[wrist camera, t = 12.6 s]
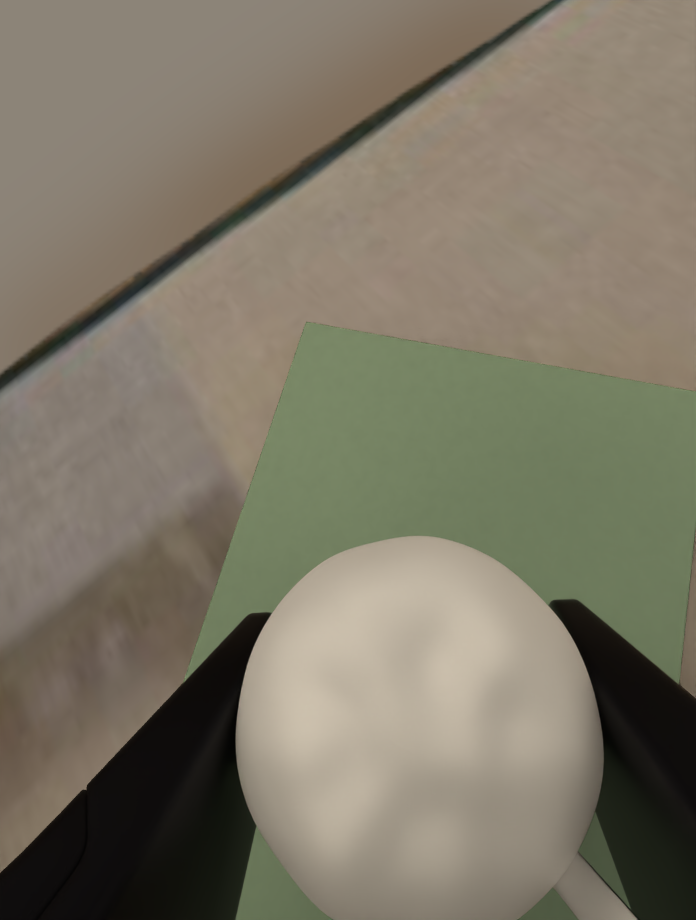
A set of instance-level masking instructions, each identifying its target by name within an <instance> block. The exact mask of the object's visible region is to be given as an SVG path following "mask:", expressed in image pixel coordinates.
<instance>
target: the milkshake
mask: <svg viewBox="0 0 696 920" xmlns="http://www.w3.org/2000/svg"><path fill="white" fill-rule="evenodd" d="M235 744H236V760H237V768H238V773H239V778H240V783H241V787H242V791H243V794H244V797H245V800H246V803H247V806H248V808H249V811H250V813H251V815H252V818H253V820H254V822H255V824H256V826H257V827H258V829H259V831H260V833H261V834H262V836H263V838H264V839H265V841H266V842H267V844H268V846H269V847H270V848H271V850H272V851H273V853H274V854H275V856H276V857H277V858H278V860H279V861H280V863H281V864H282V865H283V867H284V868H285V869H286V871H287V872H288V873H289V875H290V876H291V878H292V879H293V880H294V881H295V883H296V884H297V885H298V887H299V888H300V889H301V890H302V891H303V893H304V894H305V895H306V896H307V897H308V898H309V899H310V900H311V901H312V902H313V904H314V905H316V906H317V907H318V908H319V909H320V910H321V911H322V912H323V913H325V914H326V915H327V916H329V917H330V918H332V919H333V920H517V919H519V918H520V917H521V916H523V915H524V914H525V913H526V912H528V911H529V910H530V909H531V908H532V907H533V906H535V905H536V904H537V903H538V902H539V901H540V900H541V899H542V898H543V897H544V896H545V895H546V894H547V893H548V892H549V891H550V890H551V888H552V887H553V888H554V889H555V891H556V892H557V893H558V895H559V896H560V897H561V899H562V900H563V901H564V903H565V904H566V905H567V907H568V908H569V909H570V911H571V912H572V913H573V914H574V916H575V917H576V918H577V920H640V919H639V918H638V917H637V916H636V915H635V914H634V913H633V912H632V911H631V909H630V908H629V907H628V906H627V905H626V904H625V903H624V902H623V901H622V899H621V898H620V897H619V896H618V895H617V894H616V893H615V892H614V891H613V889H612V888H611V887H610V886H609V885H608V884H607V883H606V882H605V881H604V879H603V878H602V877H601V876H600V875H599V874H598V873H597V872H596V871H595V870H594V868H593V867H592V866H591V865H590V864H589V863H588V862H587V861H586V860H585V858H584V857H583V856H582V855H581V854H580V853H579V852H578V850H579V848H580V846H581V844H582V842H583V839H584V837H585V835H586V833H587V830H588V828H589V826H590V823H591V821H592V818H593V815H594V812H595V809H596V806H597V802H598V798H599V794H600V790H601V784H602V777H603V765H604V748H603V736H602V728H601V721H600V716H599V711H598V706H597V702H596V698H595V694H594V690H593V687H592V684H591V680H590V678H589V675H588V672H587V669H586V667H585V664H584V662H583V659H582V657H581V655H580V653H579V650H578V648H577V646H576V644H575V642H574V641H573V639H572V637H571V635H570V634H569V632H568V630H567V629H566V627H565V626H564V624H563V623H562V622H561V620H560V619H559V618H558V617H557V615H556V614H555V613H554V612H553V611H552V609H551V608H550V607H549V606H548V605H547V604H546V603H545V602H544V601H543V600H542V599H541V598H540V597H539V596H538V595H537V594H536V593H535V592H534V591H533V590H532V589H531V588H530V587H529V586H528V585H527V584H526V583H525V582H524V581H523V580H521V579H520V578H519V577H518V576H517V575H516V574H514V573H513V572H512V571H511V570H509V569H508V568H507V567H505V566H504V565H503V564H501V563H500V562H498V561H497V560H495V559H493V558H492V557H490V556H488V555H486V554H484V553H482V552H480V551H478V550H476V549H473V548H471V547H469V546H466V545H463V544H460V543H457V542H454V541H451V540H447V539H443V538H438V537H431V536H406V537H398V538H392V539H387V540H382V541H378V542H373V543H369V544H365V545H361V546H358V547H354V548H351V549H348V550H345V551H343V552H340V553H338V554H336V555H334V556H332V557H330V558H328V559H327V560H325V561H323V562H322V563H320V564H319V565H318V566H316V567H315V568H314V569H312V570H311V571H310V572H309V573H308V574H306V575H305V576H304V577H303V578H302V579H301V580H300V581H299V582H298V583H297V584H296V585H295V586H294V587H293V588H292V589H291V590H290V591H289V592H288V593H287V594H286V596H285V597H284V598H283V599H282V600H281V602H280V603H279V604H278V606H277V607H276V608H275V610H274V611H273V613H272V614H271V616H270V617H269V619H268V620H267V622H266V624H265V625H264V627H263V629H262V631H261V633H260V634H259V636H258V639H257V641H256V643H255V645H254V648H253V650H252V653H251V655H250V658H249V661H248V665H247V668H246V672H245V675H244V680H243V684H242V689H241V694H240V700H239V706H238V713H237V721H236V742H235Z"/></svg>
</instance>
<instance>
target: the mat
mask: <svg viewBox="0 0 696 920" xmlns="http://www.w3.org/2000/svg"><path fill="white" fill-rule="evenodd" d="M695 530H696V391H690V390H685V389H679V388H674V387H668V386H662V385H657V384H651V383H646V382H640V381H634V380H629V379H623V378H618V377H612V376H606V375H601V374H595V373H590V372H584V371H579V370H573V369H567V368H562V367H556V366H551V365H545V364H539V363H534V362H528V361H523V360H517V359H511V358H506V357H500V356H495V355H489V354H484V353H478V352H472V351H467V350H461V349H456V348H450V347H444V346H439V345H433V344H428V343H422V342H417V341H411V340H405V339H400V338H394V337H389V336H383V335H377V334H372V333H366V332H361V331H355V330H349V329H344V328H338V327H333V326H327V325H322V324H316V323H310V322H306V324H305V327H304V330H303V332H302V335H301V338H300V341H299V344H298V347H297V350H296V353H295V356H294V359H293V362H292V365H291V368H290V371H289V374H288V376H287V379H286V382H285V385H284V388H283V391H282V394H281V397H280V400H279V403H278V406H277V409H276V412H275V415H274V417H273V420H272V423H271V426H270V429H269V432H268V435H267V438H266V441H265V444H264V447H263V450H262V453H261V456H260V459H259V461H258V464H257V467H256V470H255V473H254V476H253V479H252V482H251V485H250V488H249V491H248V494H247V497H246V500H245V503H244V505H243V508H242V511H241V514H240V517H239V520H238V523H237V526H236V529H235V532H234V535H233V538H232V541H231V544H230V547H229V549H228V552H227V555H226V558H225V561H224V564H223V567H222V570H221V573H220V576H219V579H218V582H217V585H216V588H215V590H214V593H213V596H212V599H211V602H210V605H209V608H208V611H207V614H206V617H205V620H204V623H203V626H202V629H201V632H200V634H199V637H198V640H197V643H196V646H195V649H194V652H193V655H192V658H191V661H190V664H189V667H188V670H187V673H186V676H185V678H184V681H183V683H184V682H185V681H186V679H187V678H188V677H189V676H190V675H191V674H192V673H193V672H194V671H195V670H196V669H197V668H198V667H199V666H200V665H201V664H202V663H203V661H204V660H205V659H206V658H207V657H208V656H209V655H210V654H211V653H212V652H213V651H214V650H215V649H216V648H217V647H218V646H219V644H220V643H221V642H222V641H223V640H224V639H225V638H226V637H227V636H228V635H229V634H230V633H231V632H232V631H233V630H234V629H235V628H236V626H237V625H238V624H239V623H240V622H241V621H242V620H243V619H244V618H245V617H246V616H247V615H249V614H250V613H261V612H270V613H273V611H274V610H275V608H276V607H277V606H278V604H279V603H280V602H281V600H282V599H283V598H284V597H285V596H286V594H287V593H288V592H289V591H290V590H291V589H292V588H293V587H294V586H295V585H296V584H297V583H298V582H299V581H300V580H301V579H302V578H303V577H304V576H305V575H306V574H308V573H309V572H310V571H311V570H312V569H314V568H315V567H316V566H318V565H319V564H320V563H322V562H323V561H325V560H327V559H328V558H330V557H332V556H334V555H336V554H338V553H340V552H343V551H345V550H348V549H351V548H354V547H358V546H361V545H365V544H369V543H373V542H378V541H382V540H387V539H392V538H398V537H406V536H431V537H438V538H443V539H447V540H451V541H454V542H457V543H460V544H463V545H466V546H469V547H471V548H473V549H476V550H478V551H480V552H482V553H484V554H486V555H488V556H490V557H492V558H493V559H495V560H497V561H498V562H500V563H501V564H503V565H504V566H505V567H507V568H508V569H509V570H511V571H512V572H513V573H514V574H516V575H517V576H518V577H519V578H520V579H521V580H523V581H524V582H525V583H526V584H527V585H528V586H529V587H530V588H531V589H532V590H533V591H534V592H535V593H536V594H537V595H538V596H539V597H540V598H541V599H542V600H543V601H544V602H545V603H546V604H547V605H548V606H549V604H550V602H551V601H552V600H557V599H576V600H578V601H580V602H582V603H583V604H584V605H585V606H586V607H587V608H589V609H590V610H591V611H592V612H593V613H595V614H596V615H597V616H598V617H599V618H601V619H602V620H603V621H604V622H605V623H607V624H608V625H609V626H610V627H611V628H612V629H614V630H615V631H616V632H617V633H618V634H620V635H621V636H622V637H623V638H624V639H626V640H627V641H628V642H629V643H630V644H632V645H633V646H634V647H635V648H636V649H637V650H639V651H640V652H641V653H642V654H643V655H645V656H646V657H647V658H648V659H649V660H651V661H652V662H653V663H654V664H655V665H656V666H658V667H659V668H660V669H661V670H662V671H664V672H665V673H666V674H667V675H668V676H670V677H671V678H672V679H673V680H674V681H676V682H677V683H678V684H679V681H680V671H681V662H682V652H683V643H684V633H685V624H686V614H687V605H688V596H689V586H690V577H691V567H692V558H693V548H694V539H695ZM578 852H579V853H580V854H581V855H582V856H583V857H584V858H585V860H586V861H587V862H588V863H589V864H590V865H591V866H592V867H593V868H594V870H595V871H596V872H597V873H598V874H599V875H600V876H601V877H602V878H603V879H604V881H605V882H606V883H607V884H608V885H609V886H610V887H611V888H612V889H613V891H614V892H615V893H616V894H617V895H618V896H619V897H620V898H621V899H622V901H623V902H624V903H625V904H626V905H627V906H628V907H629V908H630V905H629V902H628V900H627V897H626V894H625V891H624V889H623V886H622V883H621V880H620V878H619V875H618V872H617V870H616V867H615V864H614V861H613V859H612V856H611V853H610V850H609V848H608V845H607V842H606V840H605V837H604V834H603V831H602V829H601V826H600V823H599V820H598V818H597V815H596V812H594V815H593V818H592V821H591V823H590V826H589V828H588V830H587V833H586V835H585V837H584V839H583V842H582V844H581V846H580V848H579V850H578ZM630 909H631V908H630ZM631 911H632V910H631ZM236 920H333V919H332V918H330V917H329V916H327V915H326V914H325V913H323V912H322V911H321V910H320V909H319V908H318V907H317V906H316V905H314V904H313V902H312V901H311V900H310V899H309V898H308V897H307V896H306V895H305V894H304V893H303V891H302V890H301V889H300V888H299V887H298V885H297V884H296V883H295V881H294V880H293V879H292V878H291V876H290V875H289V873H288V872H287V871H286V869H285V868H284V867H283V865H282V864H281V863H280V861H279V860H278V858H277V857H276V856H275V854H274V853H273V851H272V850H271V848H270V847H269V846H268V844H267V842H266V841H265V839H264V838H263V836H262V834H261V833H260V831H259V829H258V827H257V826H256V830H255V834H254V839H253V843H252V848H251V852H250V857H249V861H248V866H247V870H246V875H245V879H244V884H243V888H242V893H241V897H240V902H239V906H238V911H237V915H236ZM517 920H577V918H576V917H575V916H574V914H573V913H572V912H571V911H570V909H569V908H568V907H567V905H566V904H565V903H564V901H563V900H562V899H561V897H560V896H559V895H558V893H557V892H556V891H555V889H554V888H553V887H552V888H551V890H550V891H549V892H548V893H547V894H546V895H545V896H544V897H543V898H542V899H541V900H540V901H539V902H538V903H537V904H536V905H535V906H533V907H532V908H531V909H530V910H529V911H528V912H526V913H525V914H524V915H523V916H521V917H520V918H519V919H517Z"/></svg>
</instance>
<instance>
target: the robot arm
mask: <svg viewBox="0 0 696 920" xmlns="http://www.w3.org/2000/svg"><path fill="white" fill-rule="evenodd" d="M549 607H550V608H551V609H552V611H553V612H554V613H555V614H556V615H557V617H558V618H559V619H560V620H561V622H562V623H563V624H564V626H565V627H566V629H567V630H568V632H569V634H570V635H571V637H572V639H573V641H574V642H575V644H576V646H577V648H578V650H579V653H580V655H581V657H582V659H583V662H584V664H585V667H586V669H587V672H588V675H589V678H590V680H591V684H592V687H593V690H594V694H595V698H596V702H597V706H598V711H599V716H600V721H601V728H602V736H603V748H604V765H603V777H602V784H601V790H600V794H599V798H598V802H597V806H596V809H595V812H596V815H597V818H598V820H599V823H600V826H601V829H602V831H603V834H604V837H605V840H606V842H607V845H608V848H609V850H610V853H611V856H612V859H613V861H614V864H615V867H616V870H617V872H618V875H619V878H620V880H621V883H622V886H623V889H624V891H625V894H626V897H627V900H628V902H629V905H630V908H631V910H632V912H633V913H634V914H635V915H636V916H637V917H638V918H639V919H640V920H696V698H695V697H693V696H692V695H691V694H690V693H689V692H687V691H686V690H685V689H684V688H683V687H681V686H680V685H679V684H678V683H677V682H676V681H674V680H673V679H672V678H671V677H670V676H668V675H667V674H666V673H665V672H664V671H662V670H661V669H660V668H659V667H658V666H656V665H655V664H654V663H653V662H652V661H651V660H649V659H648V658H647V657H646V656H645V655H643V654H642V653H641V652H640V651H639V650H637V649H636V648H635V647H634V646H633V645H632V644H630V643H629V642H628V641H627V640H626V639H624V638H623V637H622V636H621V635H620V634H618V633H617V632H616V631H615V630H614V629H612V628H611V627H610V626H609V625H608V624H607V623H605V622H604V621H603V620H602V619H601V618H599V617H598V616H597V615H596V614H595V613H593V612H592V611H591V610H590V609H589V608H587V607H586V606H585V605H584V604H583V603H582V602H580V601H578V600H576V599H557V600H552V601H551V602H550V604H549ZM271 614H272V613H270V612H261V613H250V614H249V615H247V616H246V617H245V618H244V619H243V620H242V621H241V622H240V623H239V624H238V625H237V626H236V628H235V629H234V630H233V631H232V632H231V633H230V634H229V635H228V636H227V637H226V638H225V639H224V640H223V641H222V642H221V643H220V644H219V646H218V647H217V648H216V649H215V650H214V651H213V652H212V653H211V654H210V655H209V656H208V657H207V658H206V659H205V660H204V661H203V663H202V664H201V665H200V666H199V667H198V668H197V669H196V670H195V671H194V672H193V673H192V674H191V675H190V676H189V677H188V678H187V679H186V681H185V682H184V683H183V684H182V685H181V686H180V687H179V688H178V689H177V690H176V691H175V692H174V693H173V694H172V695H171V696H170V698H169V699H168V700H167V701H166V702H165V703H164V704H163V705H162V706H161V707H160V708H159V709H158V710H157V711H156V712H155V713H154V714H153V716H152V717H151V718H150V719H149V720H148V721H147V722H146V723H145V724H144V725H143V726H142V727H141V728H140V729H139V730H138V731H137V733H136V734H135V735H134V736H133V737H132V738H131V739H130V740H129V741H128V742H127V743H126V744H125V745H124V746H123V747H122V748H121V749H120V751H119V752H118V753H117V754H116V755H115V756H114V757H113V758H112V759H111V760H110V761H109V762H108V763H107V764H106V765H105V766H104V768H103V769H102V770H101V771H100V772H99V773H98V774H97V775H96V776H95V777H94V778H93V779H92V780H91V781H90V782H89V783H88V785H87V791H86V790H82V791H81V792H80V793H79V794H78V795H77V796H76V797H75V798H74V799H73V800H72V801H71V802H70V803H69V804H68V805H67V806H66V808H65V809H64V810H63V811H62V812H61V813H60V814H59V815H58V816H57V817H56V818H55V819H54V820H53V821H52V822H51V823H50V824H49V825H48V826H47V827H46V828H45V829H44V830H43V831H42V832H41V833H40V834H39V835H38V836H37V837H36V838H35V839H34V841H33V842H32V843H31V844H30V845H29V846H28V847H27V848H26V849H25V850H24V851H23V852H22V853H21V854H20V855H19V856H18V857H17V858H15V859H14V860H13V861H12V862H11V863H10V864H9V865H8V866H7V867H6V868H5V869H4V870H3V871H2V872H1V873H0V920H236V915H237V911H238V906H239V902H240V897H241V893H242V888H243V884H244V879H245V875H246V870H247V866H248V861H249V857H250V852H251V848H252V843H253V839H254V834H255V830H256V824H255V822H254V820H253V818H252V815H251V813H250V811H249V808H248V806H247V803H246V800H245V797H244V794H243V791H242V787H241V783H240V778H239V773H238V768H237V760H236V744H235V742H236V721H237V713H238V706H239V700H240V694H241V689H242V684H243V680H244V675H245V672H246V668H247V665H248V661H249V658H250V655H251V653H252V650H253V648H254V645H255V643H256V641H257V639H258V636H259V634H260V633H261V631H262V629H263V627H264V625H265V624H266V622H267V620H268V619H269V617H270V616H271Z"/></svg>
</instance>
